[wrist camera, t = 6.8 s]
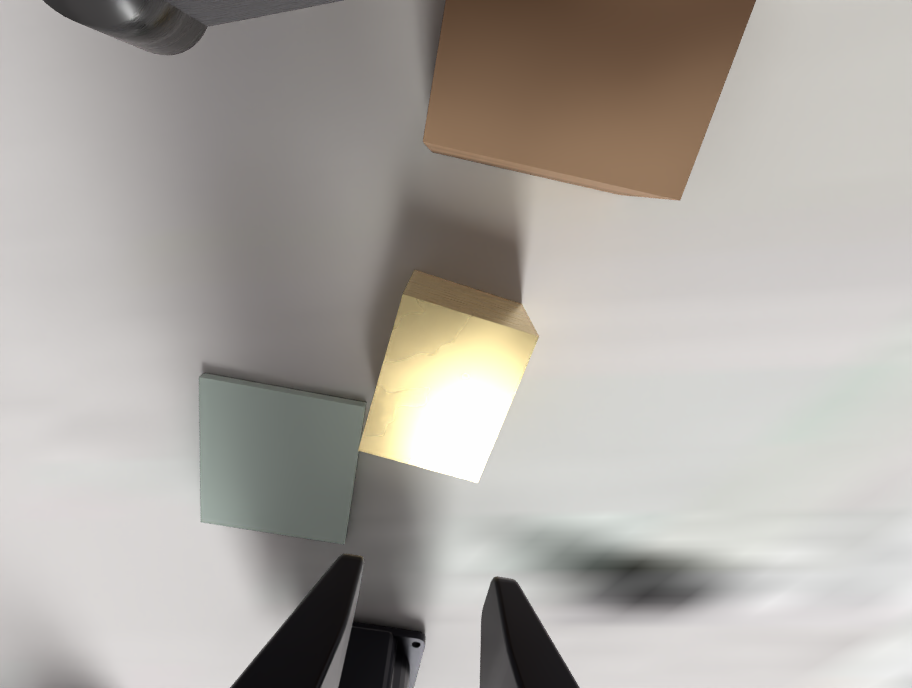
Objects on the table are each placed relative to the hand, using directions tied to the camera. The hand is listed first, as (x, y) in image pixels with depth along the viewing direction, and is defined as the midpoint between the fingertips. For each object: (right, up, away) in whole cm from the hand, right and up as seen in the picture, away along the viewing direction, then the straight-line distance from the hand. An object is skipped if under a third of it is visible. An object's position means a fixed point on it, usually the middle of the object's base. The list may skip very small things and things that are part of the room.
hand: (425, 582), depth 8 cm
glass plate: (-8, -1, +12) cm, 15 cm away
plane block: (+4, +14, +6) cm, 16 cm away
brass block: (0, +4, +10) cm, 11 cm away
